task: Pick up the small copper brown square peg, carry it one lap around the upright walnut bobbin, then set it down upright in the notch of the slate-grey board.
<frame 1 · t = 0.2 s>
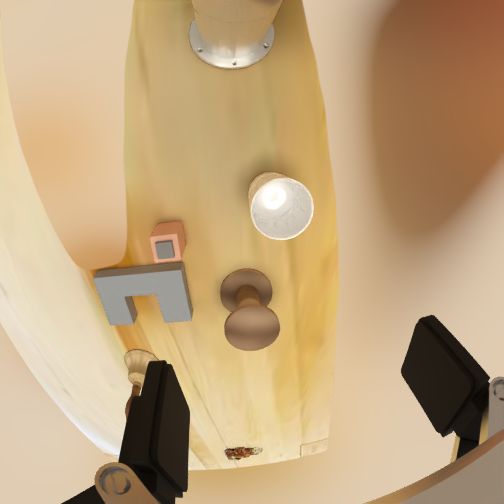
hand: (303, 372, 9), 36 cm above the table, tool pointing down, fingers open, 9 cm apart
white cup: (269, 192, 44), on the table
notch board: (145, 291, 48), on the table
bobbin: (246, 291, 50), on the table
hand bell: (142, 362, 55), on the table
copper brown square peg: (172, 234, 44), on the table
brown irregular lump: (243, 449, 75), on the table
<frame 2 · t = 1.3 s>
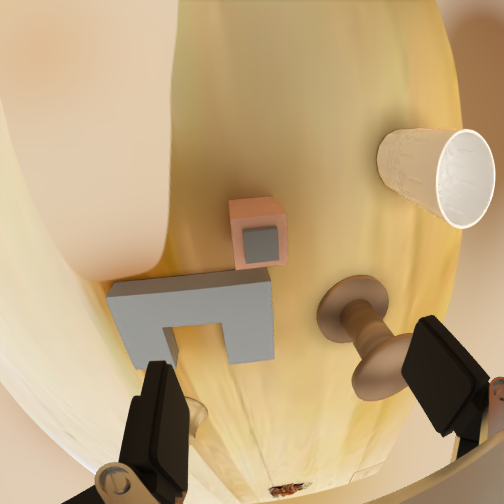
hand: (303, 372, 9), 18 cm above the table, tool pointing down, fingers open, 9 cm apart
white cup: (401, 160, 25), on the table
notch board: (195, 315, 30), on the table
bobbin: (352, 308, 32), on the table
hand bell: (180, 410, 37), on the table
copper brown square peg: (252, 218, 26), on the table
brown irregular lump: (290, 485, 57), on the table
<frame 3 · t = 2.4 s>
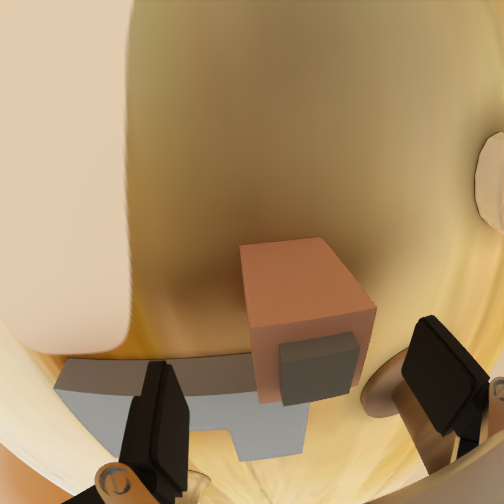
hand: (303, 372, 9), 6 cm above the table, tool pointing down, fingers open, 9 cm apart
white cup: (497, 178, 13), on the table
notch board: (188, 404, 18), on the table
bobbin: (406, 378, 20), on the table
hand bell: (177, 476, 26), on the table
copper brown square peg: (282, 277, 14), on the table
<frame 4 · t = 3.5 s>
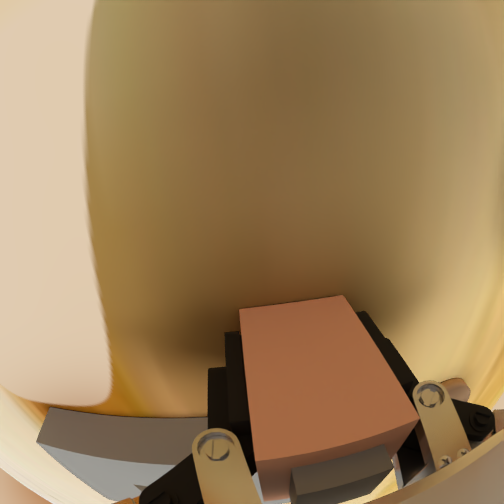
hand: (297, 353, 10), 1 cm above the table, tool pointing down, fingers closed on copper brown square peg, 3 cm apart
notch board: (184, 455, 15), on the table
bobbin: (421, 417, 17), on the table
copper brown square peg: (292, 342, 11), on the table, touching gripper
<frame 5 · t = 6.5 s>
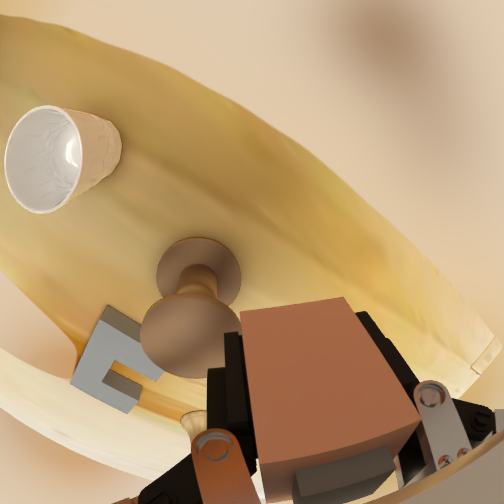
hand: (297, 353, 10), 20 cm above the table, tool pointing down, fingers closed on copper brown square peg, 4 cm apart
white cup: (94, 149, 24), on the table
notch board: (119, 360, 34), on the table
bobbin: (198, 276, 30), on the table
hand bell: (204, 422, 42), on the table
copper brown square peg: (293, 344, 11), point 19 cm above the table, touching gripper
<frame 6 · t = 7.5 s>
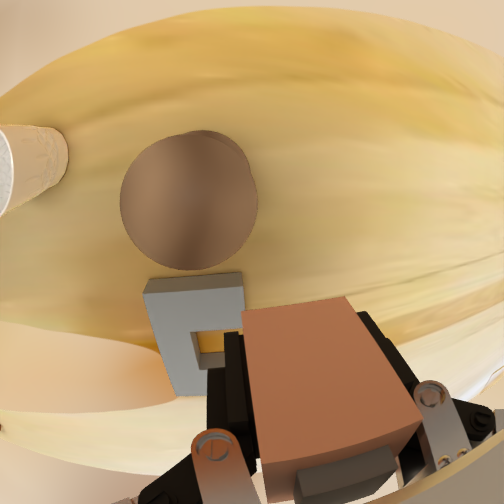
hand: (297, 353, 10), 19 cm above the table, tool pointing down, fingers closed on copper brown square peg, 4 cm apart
white cup: (46, 157, 23), on the table
notch board: (204, 335, 32), on the table
bobbin: (201, 178, 26), on the table
copper brown square peg: (294, 343, 11), point 18 cm above the table, touching gripper
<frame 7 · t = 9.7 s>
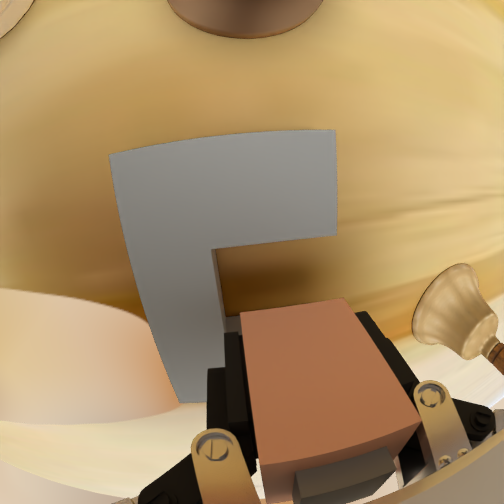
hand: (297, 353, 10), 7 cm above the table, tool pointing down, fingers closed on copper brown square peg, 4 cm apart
white cup: (10, 5, 7), on the table
notch board: (236, 274, 17), on the table
hand bell: (445, 304, 21), on the table
copper brown square peg: (293, 345, 11), point 7 cm above the table, touching gripper
when the fingers open (3 cm above the table, at t = 10.9 s): copper brown square peg drops 2 cm, on the table.
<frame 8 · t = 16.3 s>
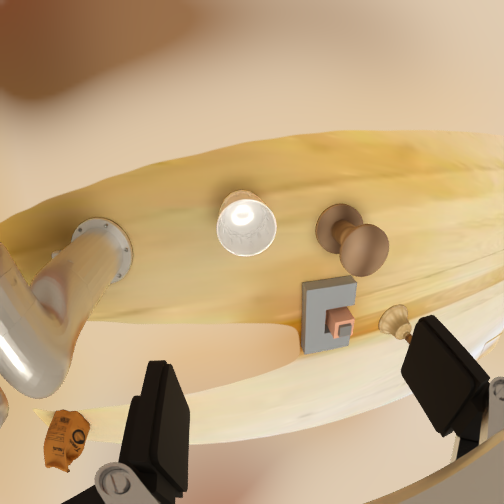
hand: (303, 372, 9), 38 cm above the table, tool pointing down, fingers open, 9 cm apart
coffee package: (73, 417, 66), on the table
white cup: (241, 209, 46), on the table
notch board: (325, 312, 56), on the table
bobbin: (339, 228, 49), on the table
hand bell: (392, 318, 60), on the table
copper brown square peg: (333, 311, 56), on the table
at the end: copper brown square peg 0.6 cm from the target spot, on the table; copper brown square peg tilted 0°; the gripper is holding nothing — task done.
